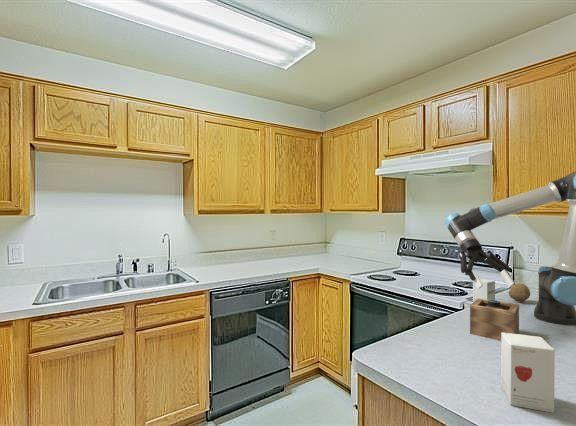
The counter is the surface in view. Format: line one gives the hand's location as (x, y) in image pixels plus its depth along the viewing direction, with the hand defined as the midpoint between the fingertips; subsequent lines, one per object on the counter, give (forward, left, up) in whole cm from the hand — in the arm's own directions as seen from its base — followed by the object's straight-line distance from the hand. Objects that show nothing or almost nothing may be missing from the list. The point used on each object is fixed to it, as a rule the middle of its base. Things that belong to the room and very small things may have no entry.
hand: (496, 286), depth 124 cm
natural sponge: (-1, -60, -19) cm, 62 cm away
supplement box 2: (-13, +46, -19) cm, 52 cm away
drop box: (+1, -1, -18) cm, 18 cm away
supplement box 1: (+12, -42, -19) cm, 47 cm away
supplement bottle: (+1, -1, -18) cm, 18 cm away
